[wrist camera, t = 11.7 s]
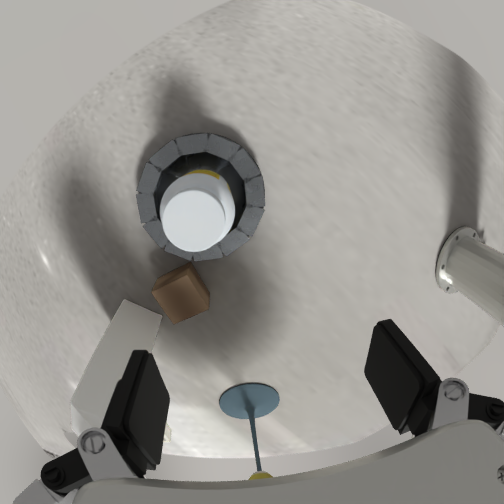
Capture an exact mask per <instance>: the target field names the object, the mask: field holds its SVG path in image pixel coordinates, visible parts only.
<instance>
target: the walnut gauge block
mask: <svg viewBox="0 0 504 504" xmlns="http://www.w3.org/2000/svg"><path fill="white" fill-rule="evenodd" d="M151 293H152V295H153V296H154V297H155V299H156V300H157V302H158V303H159V305H160V306H161V307H162V309H163V310H164V312H165V313H166V314H167V316H168V317H169V319H170V320H171V321H172V323H173V324H176V323H178V322H181V321H183V320H185V319H188V318H190V317H192V316H195V315H197V314H199V313H201V312H204V311H206V310H208V309H209V299H210V293H209V291H208V290H207V288H206V286H205V285H204V283H203V282H202V280H201V278H200V277H199V275H198V273H197V272H196V270H195V268H194V267H193V265H192V263H191V262H189V263H187V264H185V265H183V266H181V267H179V268H177V269H175V270H173V271H171V272H169V273H167V274H165V275H163V276H161V277H159V278H158V279H157V281H156V283H155V285H154V287H153V289H152V292H151Z"/></svg>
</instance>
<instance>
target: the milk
mask: <svg viewBox="0 0 504 504" xmlns="http://www.w3.org/2000/svg"><path fill="white" fill-rule="evenodd" d="M161 320H162V315H160V314H157V313H155V312H153V311H150V310H148V309H146V308H143V307H141V306H139V305H137V304H134V303H132V302H130V301H128V300H126V299H124V300H123V301H122V303H121V305H120V307H119V308H118V310H117V312H116V313H115V315H114V317H113V319H112V320H111V322H110V324H109V326H108V328H107V329H106V331H105V333H104V335H103V337H102V339H101V340H100V342H99V344H98V346H97V348H96V350H95V352H94V354H93V356H92V358H91V360H90V362H89V363H88V365H87V367H86V370H85V372H84V374H83V376H82V378H81V380H80V382H79V384H78V386H77V388H76V390H75V393H74V395H73V397H72V399H71V402H70V412H71V429H72V430H73V431H74V433H75V434H76V435H77V436H78V437H79V435H80V434H81V433H82V432H83V431H85V430H86V429H89V428H101V425H102V422H103V419H104V417H105V414H106V411H107V408H108V405H109V403H110V400H111V397H112V395H113V392H114V389H115V387H116V384H117V382H118V380H120V379H122V376H123V374H124V371H125V369H126V366H127V363H128V361H129V358H130V356H131V354H132V351H133V350H147V351H148V352H149V353H152V350H153V346H154V343H155V339H156V336H157V333H158V329H159V326H160V323H161Z"/></svg>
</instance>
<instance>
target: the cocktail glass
mask: <svg viewBox="0 0 504 504" xmlns="http://www.w3.org/2000/svg"><path fill="white" fill-rule="evenodd" d="M279 400H280V399H279V395H278V393H277V392H276V391H275V390H274V389H273V388H271V387H269V386H266V385H263V384H244V385H239V386H236V387H233V388H231V389H229V390H228V391H226V392H225V393H224V394H223V395H222V396H221V398H220V403H219V404H220V408H221V409H222V411H223V412H224V413H226V414H227V415H229V416H231V417H234V418H239V419H249V420H250V425H251V432H252V438H253V444H254V451H255V458H256V464H257V472H255V473H254V474H253V475H252V476H251V477H250V478H249V480H254V479H264V478H272V476H271V475H270V474H268V473H267V472H265V471H262V470H261V464H260V458H259V451H258V444H257V437H256V429H255V418H259V417H262V416H264V415H267V414H269V413H270V412H272V411H273V410H274V409H275V408H276V407H277V406H278V404H279Z"/></svg>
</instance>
